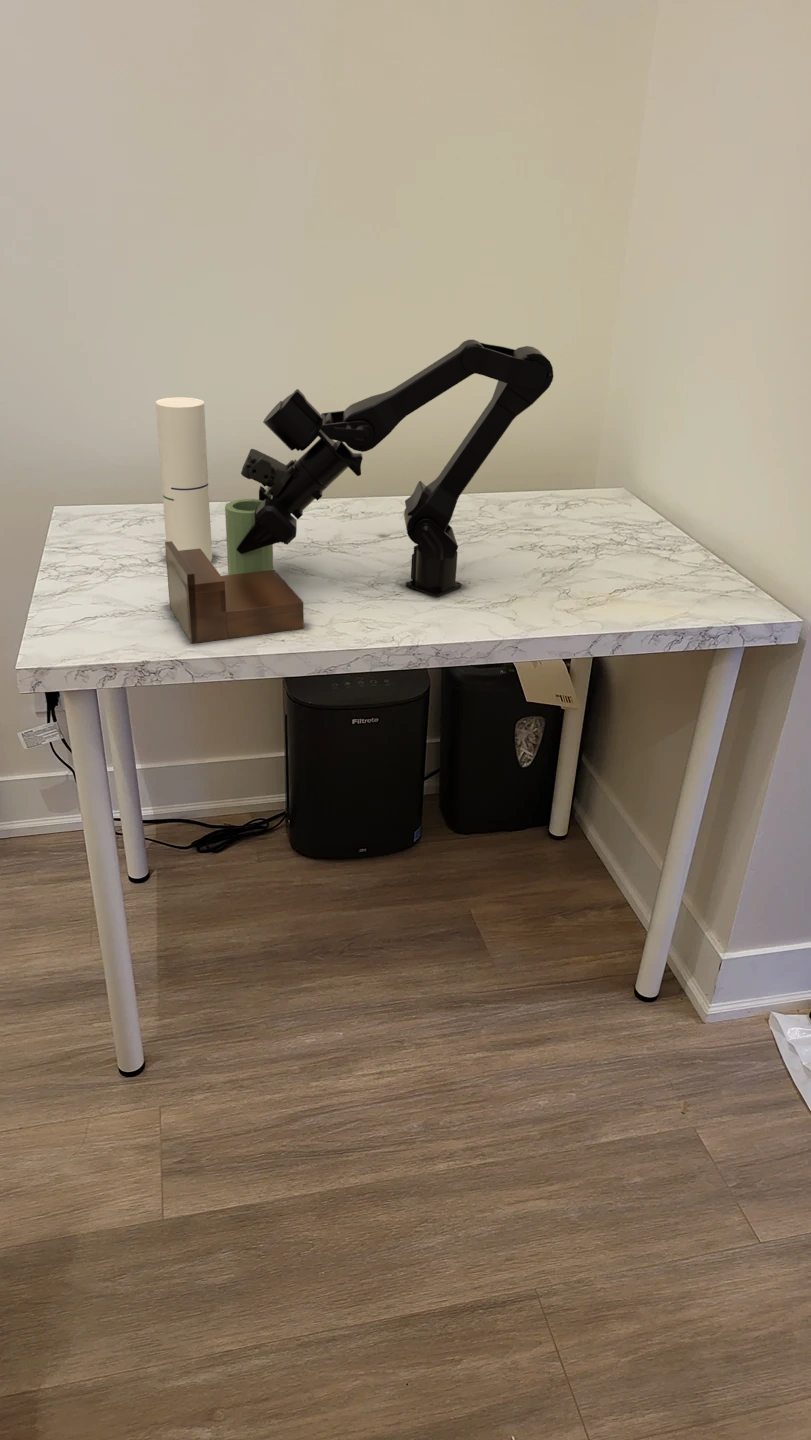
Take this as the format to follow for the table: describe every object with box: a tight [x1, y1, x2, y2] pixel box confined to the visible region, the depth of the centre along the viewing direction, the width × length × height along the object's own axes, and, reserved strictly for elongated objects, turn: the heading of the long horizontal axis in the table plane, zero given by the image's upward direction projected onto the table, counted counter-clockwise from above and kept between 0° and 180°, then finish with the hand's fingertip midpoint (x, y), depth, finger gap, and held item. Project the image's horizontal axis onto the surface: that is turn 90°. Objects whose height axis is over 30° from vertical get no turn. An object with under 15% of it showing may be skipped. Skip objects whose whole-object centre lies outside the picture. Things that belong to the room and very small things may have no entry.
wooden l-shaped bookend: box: [164, 541, 305, 644], centre depth 146 cm, size 16×13×10 cm
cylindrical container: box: [155, 396, 213, 563], centre depth 162 cm, size 7×7×25 cm
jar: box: [224, 498, 274, 575], centre depth 156 cm, size 7×7×12 cm
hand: (240, 543), depth 156 cm, fingers closed on jar, 7 cm apart
